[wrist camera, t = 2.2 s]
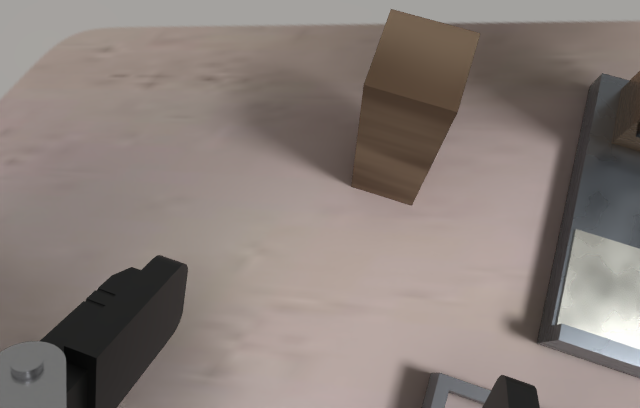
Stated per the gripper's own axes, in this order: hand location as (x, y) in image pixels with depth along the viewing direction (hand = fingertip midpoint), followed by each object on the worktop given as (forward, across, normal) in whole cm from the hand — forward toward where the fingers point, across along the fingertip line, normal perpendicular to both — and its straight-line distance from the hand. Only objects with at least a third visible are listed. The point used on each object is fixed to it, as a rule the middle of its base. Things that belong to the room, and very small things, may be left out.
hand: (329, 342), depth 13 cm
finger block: (+18, 0, +3) cm, 19 cm away
